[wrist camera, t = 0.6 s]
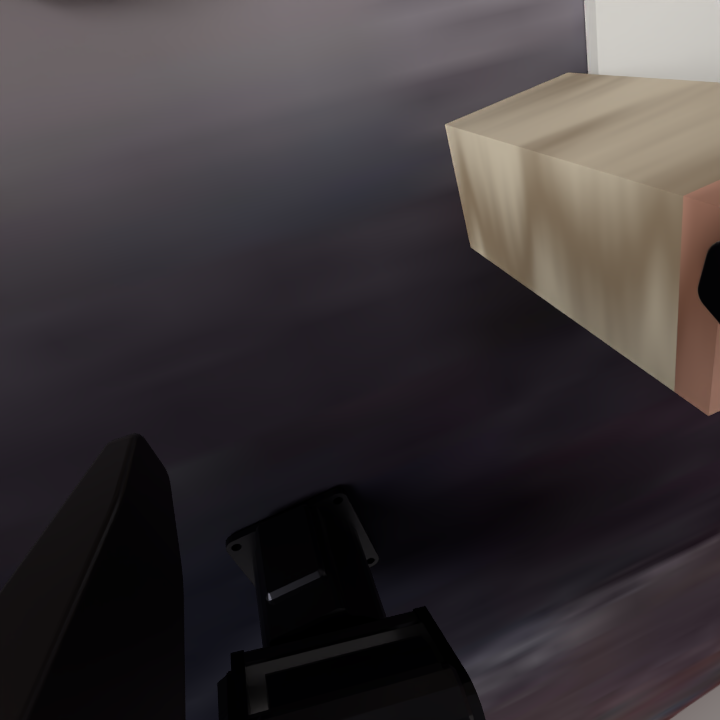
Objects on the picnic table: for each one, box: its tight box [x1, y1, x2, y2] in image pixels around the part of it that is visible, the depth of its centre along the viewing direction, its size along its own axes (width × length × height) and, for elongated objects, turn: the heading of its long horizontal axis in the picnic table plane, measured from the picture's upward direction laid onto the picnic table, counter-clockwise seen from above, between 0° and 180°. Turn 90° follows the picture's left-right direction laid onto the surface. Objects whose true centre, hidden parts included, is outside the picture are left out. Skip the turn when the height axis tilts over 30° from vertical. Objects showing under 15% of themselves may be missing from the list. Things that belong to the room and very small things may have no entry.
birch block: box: [445, 73, 720, 416], centre depth 15 cm, size 5×5×12 cm
